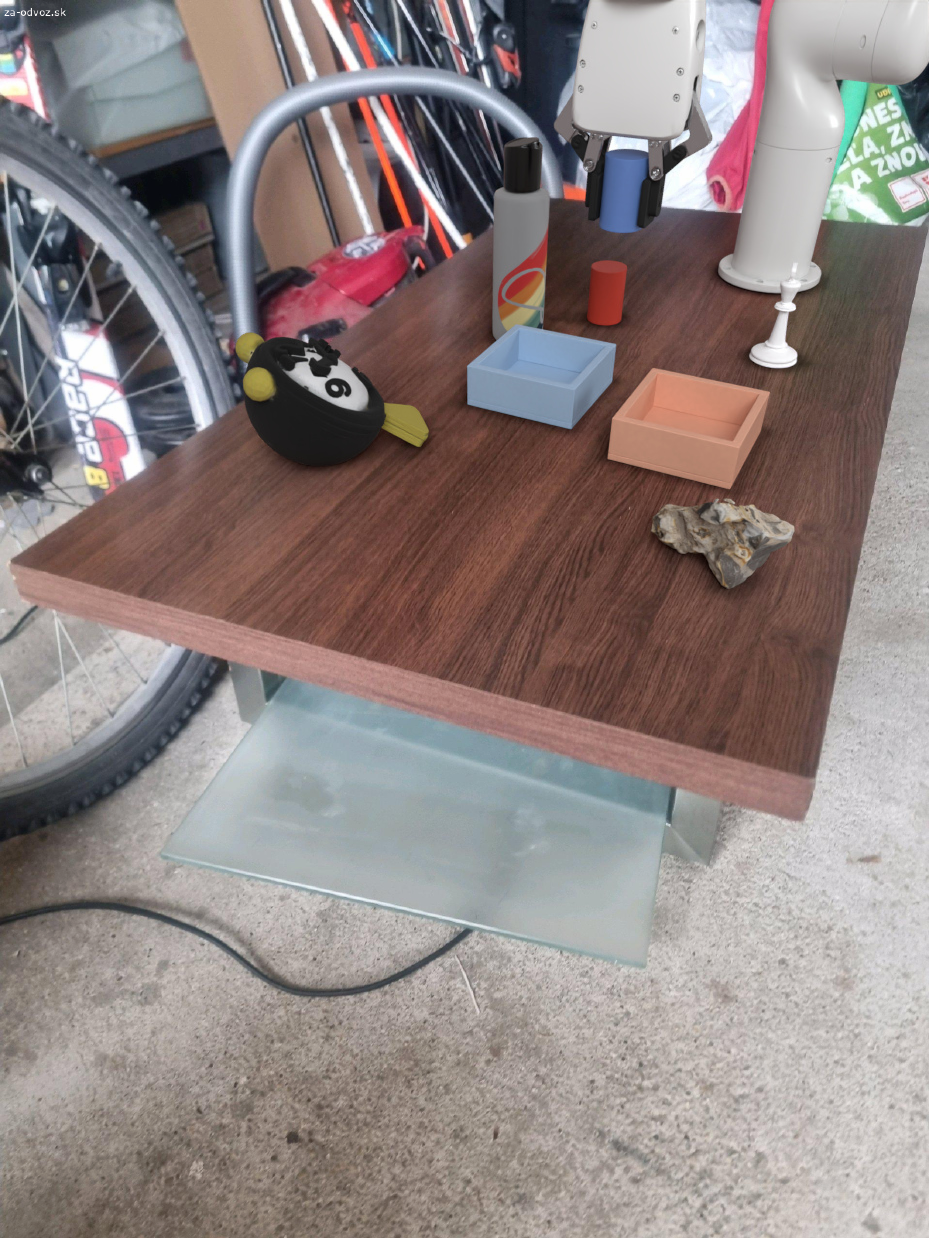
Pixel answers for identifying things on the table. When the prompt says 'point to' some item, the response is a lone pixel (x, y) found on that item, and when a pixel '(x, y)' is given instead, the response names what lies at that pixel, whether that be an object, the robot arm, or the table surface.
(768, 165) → the robot arm
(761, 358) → the chess piece
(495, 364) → the blue bin
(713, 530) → the rock
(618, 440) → the orange bin
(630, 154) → the blue peg
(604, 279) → the red peg
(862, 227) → the table surface
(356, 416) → the alarm clock
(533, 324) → the lotion bottle
